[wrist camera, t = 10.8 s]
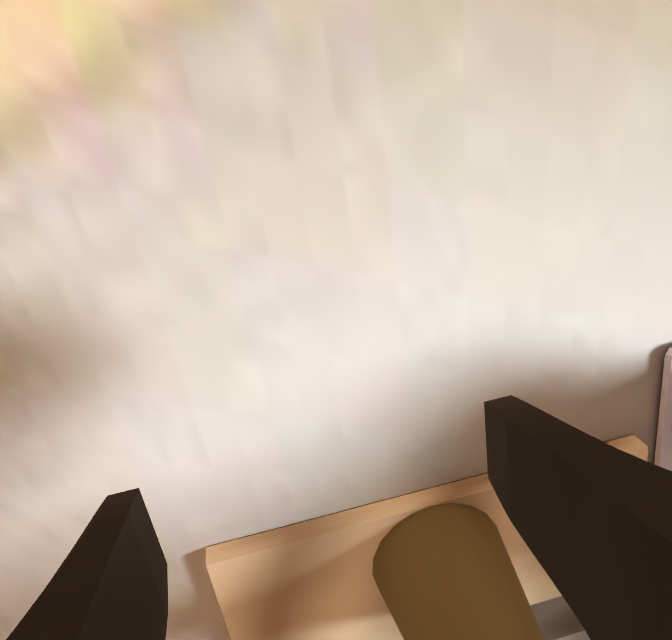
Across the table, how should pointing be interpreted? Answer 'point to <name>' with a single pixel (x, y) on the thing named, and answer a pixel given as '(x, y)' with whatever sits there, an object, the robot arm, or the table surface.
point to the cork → (452, 578)
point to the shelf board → (360, 570)
